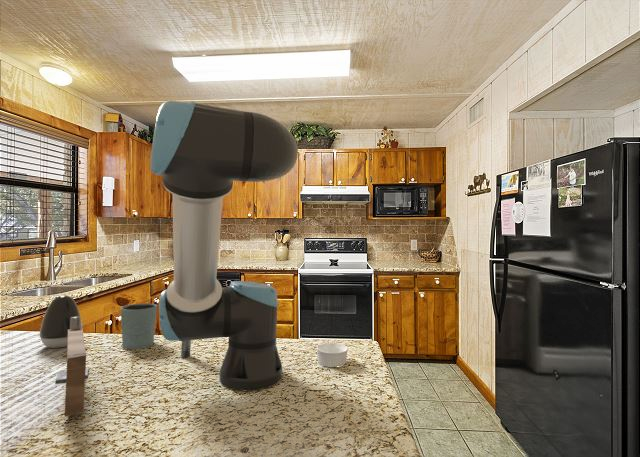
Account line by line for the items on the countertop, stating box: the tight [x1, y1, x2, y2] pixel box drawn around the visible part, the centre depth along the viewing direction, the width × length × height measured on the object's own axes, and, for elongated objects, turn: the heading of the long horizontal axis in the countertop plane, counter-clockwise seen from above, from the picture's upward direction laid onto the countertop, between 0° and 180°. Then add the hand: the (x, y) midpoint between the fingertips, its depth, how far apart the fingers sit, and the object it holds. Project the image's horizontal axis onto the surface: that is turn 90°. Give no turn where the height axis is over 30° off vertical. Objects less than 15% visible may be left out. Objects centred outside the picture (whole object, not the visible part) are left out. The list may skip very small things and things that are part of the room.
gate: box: [64, 327, 87, 417], centre depth 69 cm, size 22×3×11 cm, turn 38°
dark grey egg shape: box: [39, 294, 83, 349], centre depth 100 cm, size 10×10×15 cm
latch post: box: [180, 340, 192, 359], centre depth 93 cm, size 2×2×13 cm
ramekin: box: [316, 342, 349, 368], centre depth 92 cm, size 9×9×4 cm
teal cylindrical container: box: [120, 302, 158, 350], centre depth 103 cm, size 10×10×12 cm
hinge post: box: [54, 315, 90, 384], centre depth 79 cm, size 6×6×14 cm
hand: (198, 269), depth 98 cm, fingers closed
